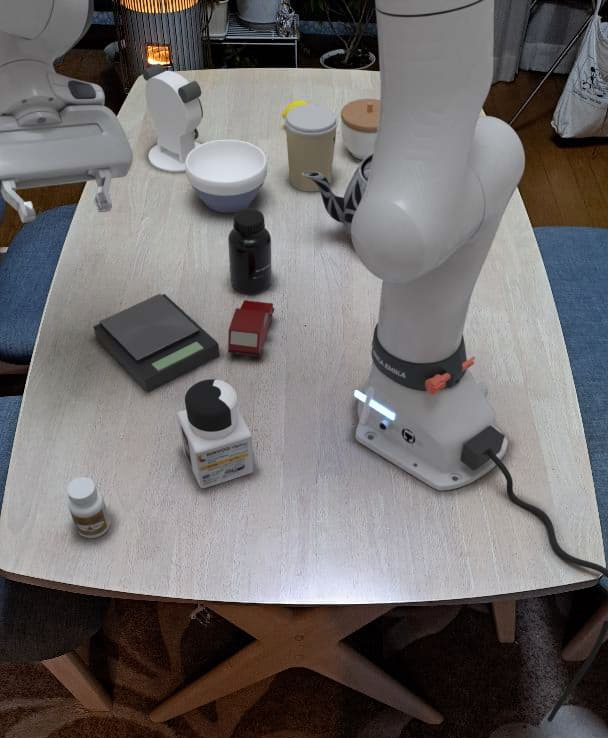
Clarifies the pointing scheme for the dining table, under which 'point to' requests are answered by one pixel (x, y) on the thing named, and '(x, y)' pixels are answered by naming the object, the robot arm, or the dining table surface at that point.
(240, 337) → the toy truck
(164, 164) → the white device on stand
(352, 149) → the trinket box
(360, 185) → the teapot
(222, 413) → the container
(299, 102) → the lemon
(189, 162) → the bowl
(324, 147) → the coffee cup
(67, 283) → the dining table surface
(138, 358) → the scale
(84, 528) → the pill bottle
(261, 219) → the supplement bottle
